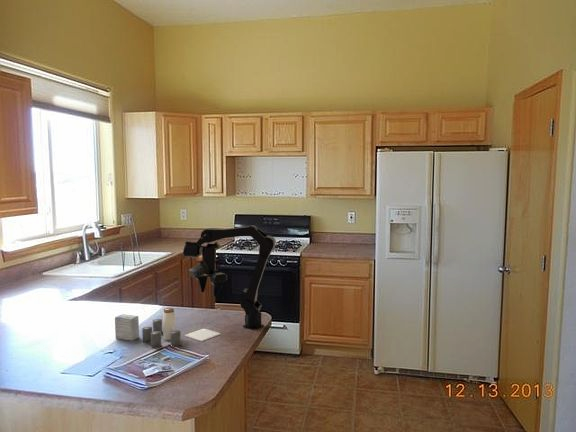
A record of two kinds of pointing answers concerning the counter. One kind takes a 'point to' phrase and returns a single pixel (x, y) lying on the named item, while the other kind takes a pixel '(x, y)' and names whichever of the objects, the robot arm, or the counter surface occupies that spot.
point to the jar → (168, 323)
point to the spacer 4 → (176, 338)
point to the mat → (202, 334)
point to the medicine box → (126, 327)
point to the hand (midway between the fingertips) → (208, 294)
